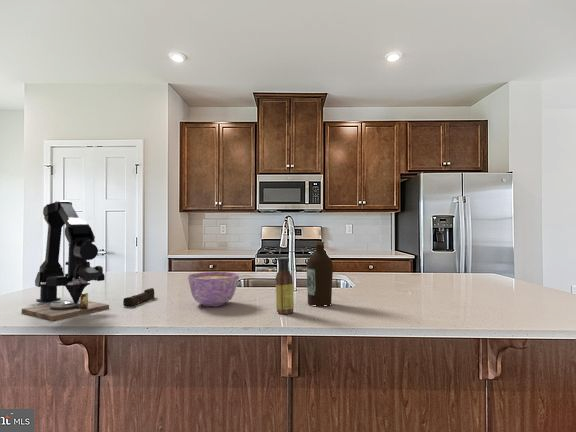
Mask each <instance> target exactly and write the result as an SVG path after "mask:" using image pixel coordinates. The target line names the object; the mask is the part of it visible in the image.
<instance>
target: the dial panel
mask: <svg viewBox="0 0 576 432" xmlns="http://www.w3.org/2000/svg"><path fill="white" fill-rule="evenodd" d="M108 309H109V310H110V304H107V303H102V302H97V301H92V300H88V308H80V307H75V308H69V309H51V308H50V303H46V304H41V305H35V306H29V307H24V308H21V314H24V313H25V314H24V315H28V316H32V317H36V318H40V319H43V320H48V321H51V322H52V321H57V320H63V319H66V318H71V317H76V316H80V315H85V314H90V313H95V312H100V311H104V310H108Z"/></svg>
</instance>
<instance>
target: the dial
mask: <svg viewBox="0 0 576 432" xmlns="http://www.w3.org/2000/svg"><path fill="white" fill-rule="evenodd" d="M88 301H89V293H88V292H82V294H81V296H80V299H79V301H78V304H74V301H73V299H72V298H68V299H67V298H66V299H60V300H55V301H50V303H49V304H50V308H51V309H69V308H75V307H80V308H88Z"/></svg>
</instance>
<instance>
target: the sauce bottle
mask: <svg viewBox="0 0 576 432" xmlns="http://www.w3.org/2000/svg"><path fill="white" fill-rule="evenodd" d="M277 263H278V272H277V273H276V275H275V302H276V303H275V305H276V306H275V307H276V312H278V314H279V313H280V314H281V315H291V314H293V313H294V282H293V276H292V274H291V271H290V258H289V257H278V258H277ZM292 312H293V313H292ZM290 313H291V314H290ZM280 314H279V315H280Z"/></svg>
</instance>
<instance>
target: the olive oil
mask: <svg viewBox="0 0 576 432" xmlns="http://www.w3.org/2000/svg"><path fill="white" fill-rule="evenodd" d="M324 244H325V243H324V241H316V242H315V250H314V251H315V252H314V253H313V254H311V256H310V257H309V258H308V259H307V261H306V262H307V263H306V268H305V269H306V285H307V286H306V289H307V304H310V305H316V306H324V305H330V304H331V305H332V300H333V299H332V296H333V295H332V293H333V273H334V264H333V261H332V258H330V256H329V255H328V254H327V252H325V245H324ZM310 305H309V306H310ZM331 305H330V306H331Z"/></svg>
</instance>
